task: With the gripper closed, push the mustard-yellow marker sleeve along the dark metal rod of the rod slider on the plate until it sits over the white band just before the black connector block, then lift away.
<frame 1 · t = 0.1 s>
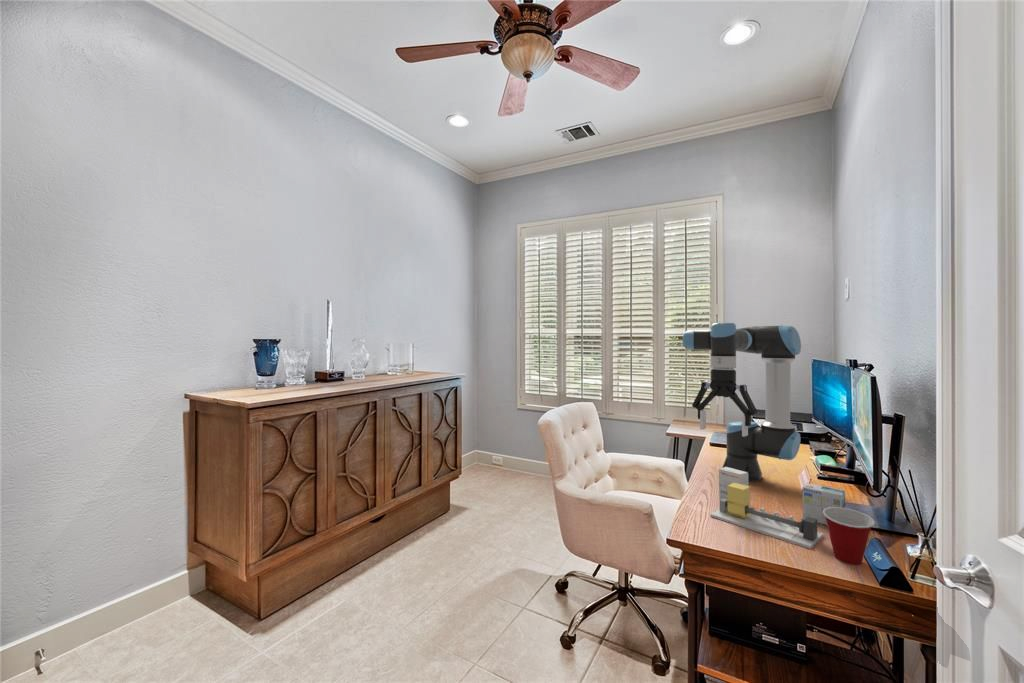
hand: (723, 432, 138), 28 cm above the table, fingers open, 13 cm apart
rod slider on plate: (763, 525, 130), on the table
light bulb box: (823, 521, 134), on the table
plastic cup: (847, 560, 110), on the table
sleeve: (738, 500, 136), point 6 cm above the table, slide at -7.5 cm
ink box: (733, 503, 149), on the table
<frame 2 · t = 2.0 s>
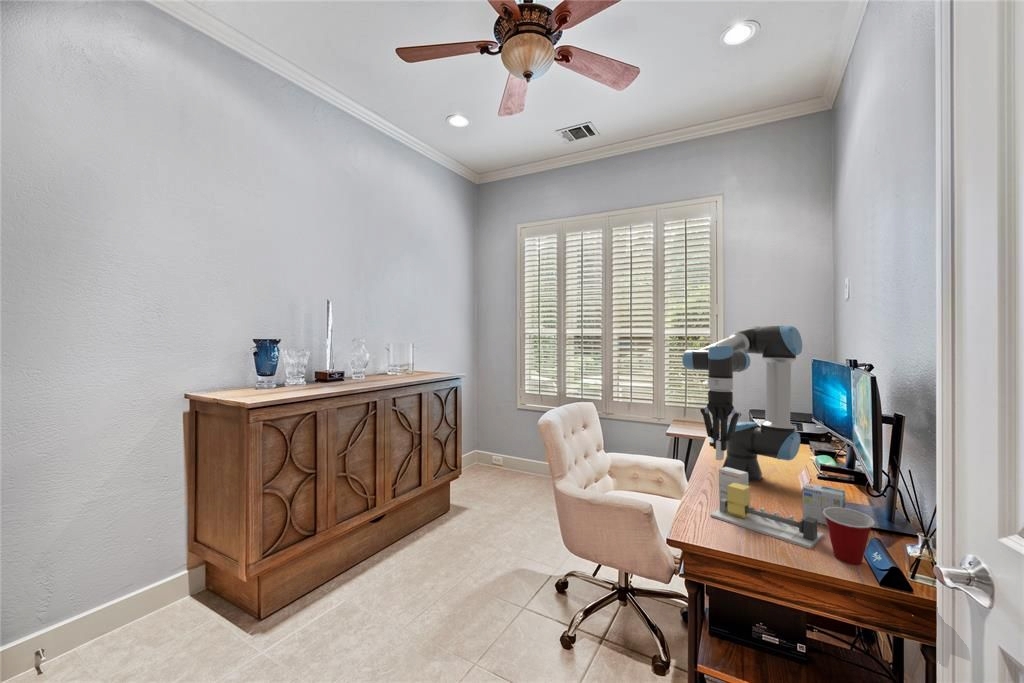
hand: (719, 459, 141), 18 cm above the table, fingers closed
nothing on the table moved.
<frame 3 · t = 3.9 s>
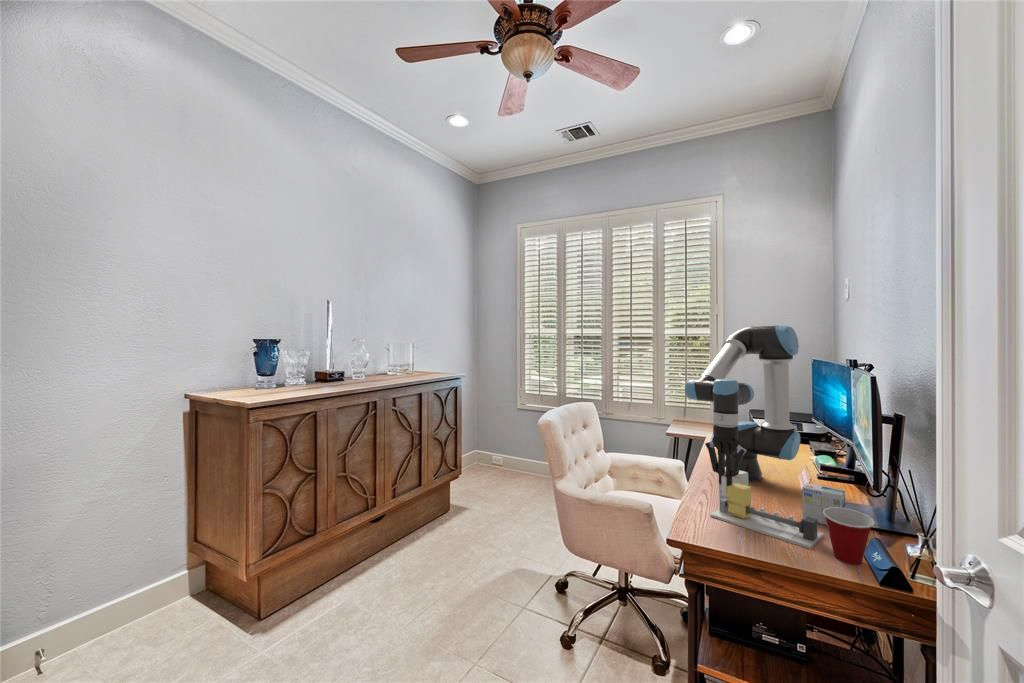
hand: (725, 494, 139), 6 cm above the table, fingers closed
sleeve: (739, 500, 136), point 6 cm above the table, slide at -7.2 cm, touching gripper
everything else where it was.
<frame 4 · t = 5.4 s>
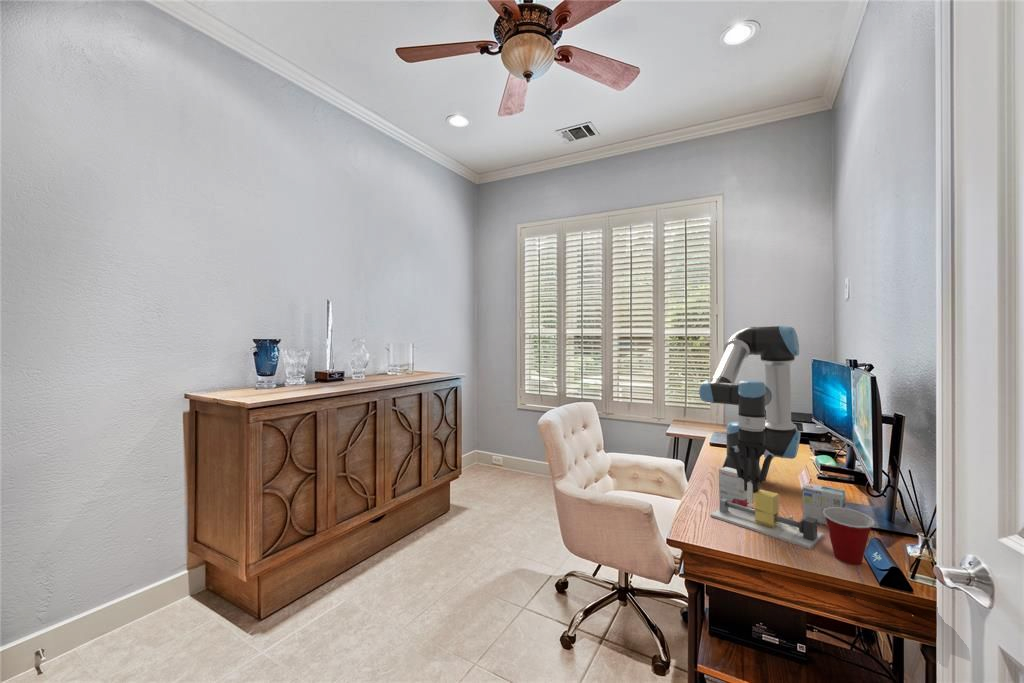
hand: (751, 501, 133), 6 cm above the table, fingers closed
sleeve: (766, 508, 130), point 6 cm above the table, slide at 0.9 cm, touching gripper
everything else where it was.
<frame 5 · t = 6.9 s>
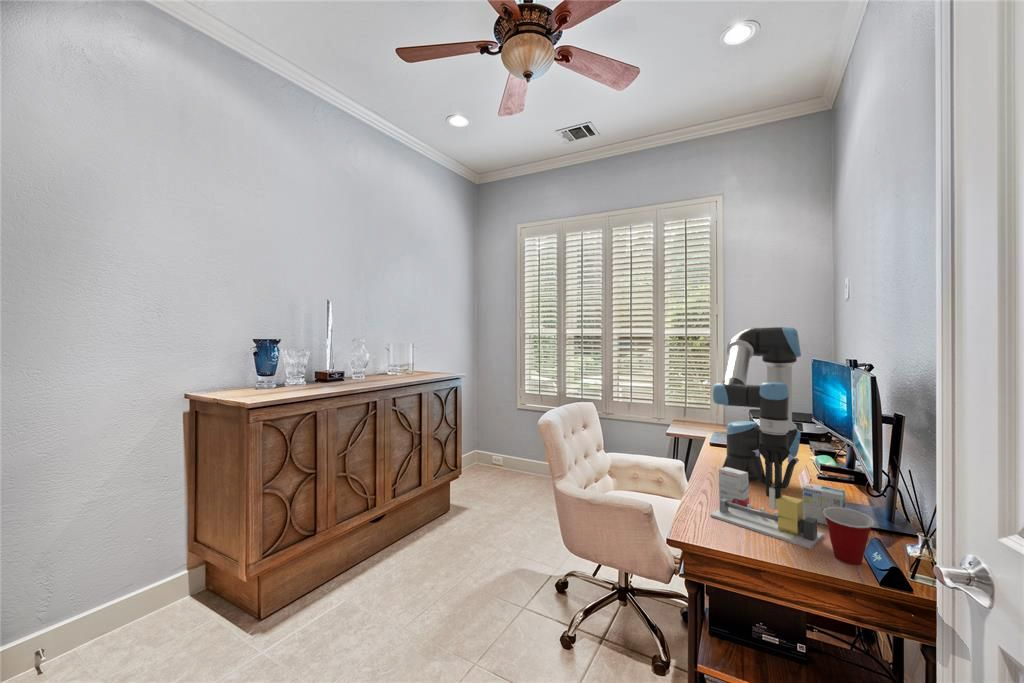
hand: (773, 508, 128), 6 cm above the table, fingers closed
sleeve: (790, 514, 125), point 6 cm above the table, slide at 7.2 cm, touching gripper
everything else where it was.
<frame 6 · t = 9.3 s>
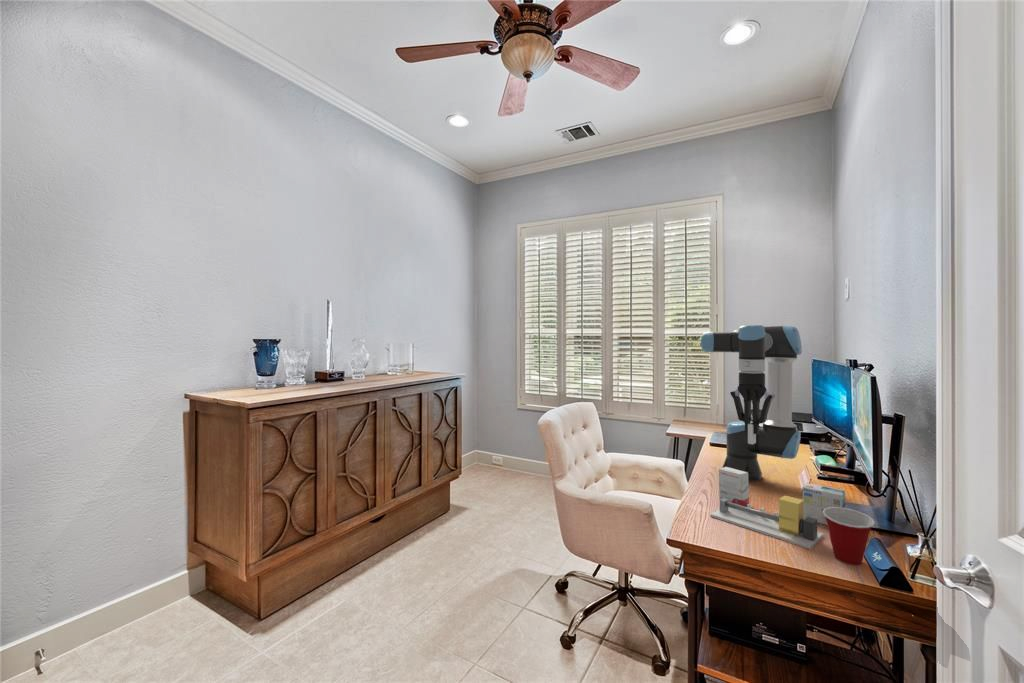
hand: (751, 443, 136), 25 cm above the table, fingers closed
sleeve: (791, 514, 125), point 6 cm above the table, slide at 7.5 cm
everything else where it was.
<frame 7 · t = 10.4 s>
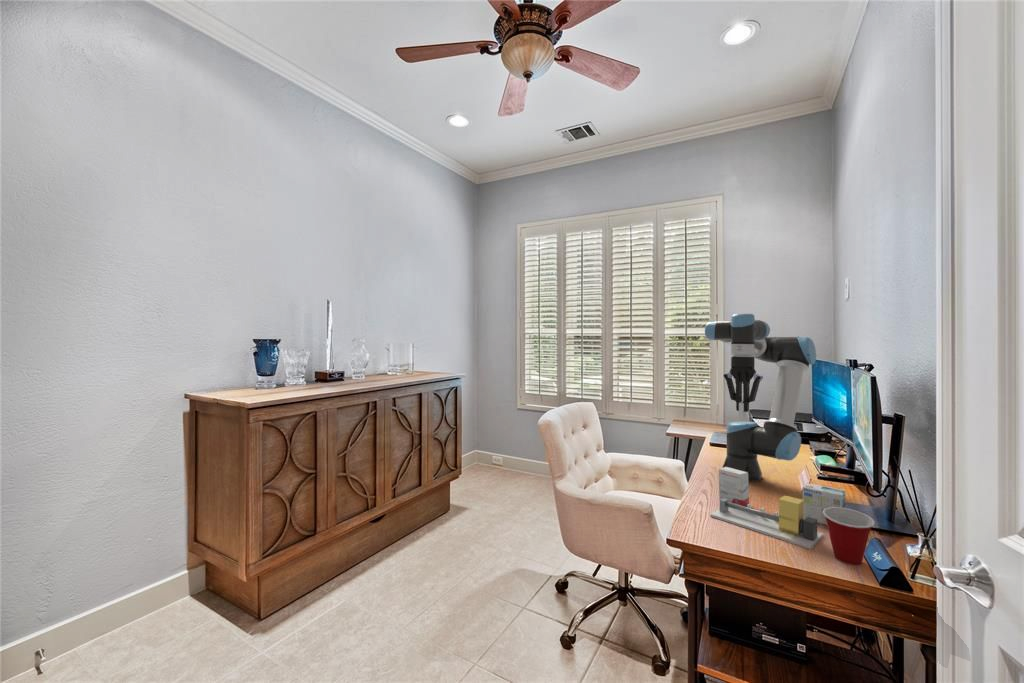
hand: (742, 420, 151), 29 cm above the table, fingers closed
nothing on the table moved.
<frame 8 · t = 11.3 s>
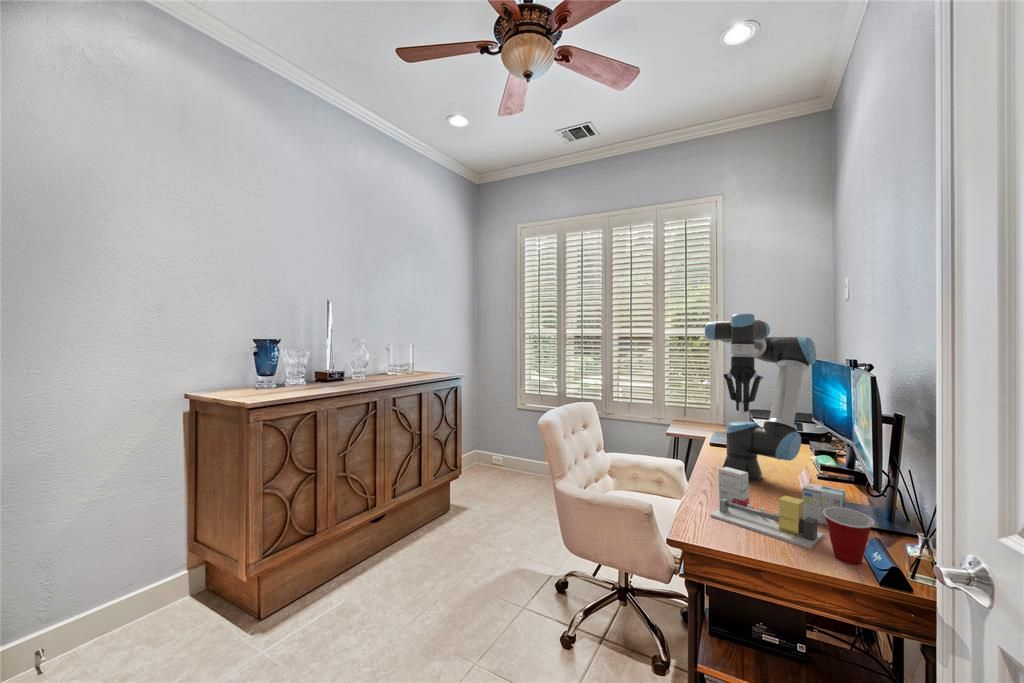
hand: (742, 420, 151), 29 cm above the table, fingers closed
nothing on the table moved.
at the end: sleeve slide at 7.5 cm; sleeve touching nothing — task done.
